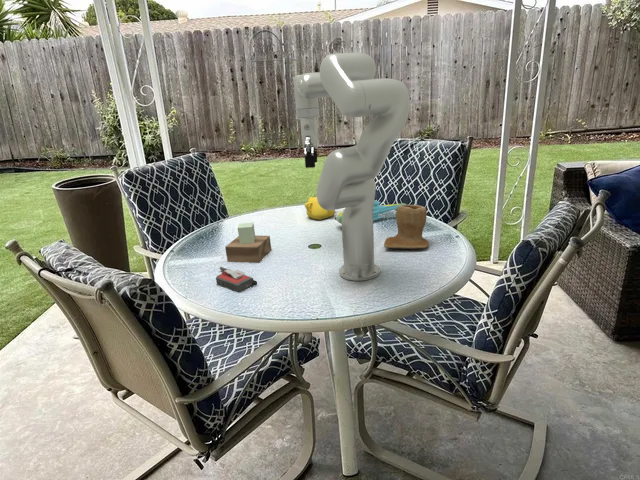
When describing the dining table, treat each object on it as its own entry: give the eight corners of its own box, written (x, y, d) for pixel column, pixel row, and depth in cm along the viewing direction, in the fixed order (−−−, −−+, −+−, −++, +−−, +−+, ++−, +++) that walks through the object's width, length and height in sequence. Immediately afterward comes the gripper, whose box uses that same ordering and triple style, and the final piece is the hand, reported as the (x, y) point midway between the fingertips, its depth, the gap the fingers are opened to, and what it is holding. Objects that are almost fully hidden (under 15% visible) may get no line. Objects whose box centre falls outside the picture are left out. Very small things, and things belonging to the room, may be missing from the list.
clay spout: (428, 240, 161) (428, 200, 156) (428, 252, 151) (429, 210, 145) (386, 240, 165) (385, 201, 160) (383, 252, 154) (382, 210, 149)
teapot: (310, 212, 207) (308, 191, 203) (337, 212, 205) (336, 190, 201) (304, 221, 194) (302, 199, 190) (333, 221, 192) (332, 198, 188)
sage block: (254, 243, 155) (252, 226, 153) (239, 244, 155) (237, 228, 153) (255, 238, 160) (253, 222, 158) (241, 239, 160) (239, 223, 158)
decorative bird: (328, 225, 187) (326, 204, 184) (387, 212, 199) (387, 192, 196) (343, 234, 175) (342, 211, 172) (406, 219, 187) (406, 198, 184)
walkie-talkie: (263, 284, 137) (223, 270, 149) (261, 271, 135) (221, 258, 148) (241, 295, 130) (201, 280, 143) (239, 281, 129) (199, 267, 142)
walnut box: (259, 263, 152) (257, 247, 150) (227, 262, 156) (225, 246, 154) (271, 251, 163) (269, 235, 161) (241, 250, 166) (239, 235, 164)
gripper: (316, 115, 139) (320, 169, 145) (320, 111, 155) (324, 160, 161) (293, 116, 140) (298, 170, 145) (299, 112, 156) (303, 161, 162)
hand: (311, 164), depth 153 cm, fingers open, 9 cm apart
